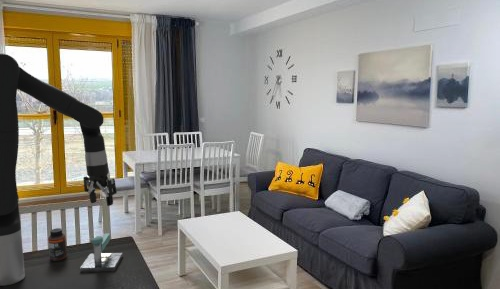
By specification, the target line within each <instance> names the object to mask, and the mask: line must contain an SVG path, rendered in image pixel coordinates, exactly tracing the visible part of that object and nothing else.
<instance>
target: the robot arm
mask: <svg viewBox="0 0 500 289" xmlns="http://www.w3.org/2000/svg"><path fill="white" fill-rule="evenodd" d="M18 91H20V92H22V93H24V94H26V95H28V96H30V97H32V98H34V99H35V100H37V101H39V102H40V103H42V104H44V105H45V106H47V107H49V108H50V109H52V110H54V111H56V112H58V113H59V114H61V115H64V116H65V117H69V118H71V119H73V120H74V121H77V122H78V123H79V126H80V127H79V128H80V131H81V134H82V137H83V147H84V148H83V149H84V154H85V155H84V159H85V166H86V168H85V169H86V176H83V177H82V179H83V188H84V192H85V193H88V194H89V201H90V204H95V203H96V202H97V201H98V200H97V193H96V191H97V190H99V191H101V192H102V193H104V194H105V201H106V206H108V207H110V206H112V205H113V204H114V198H113V196H114V195H116V194H117V187H116V180H115V178H114V177H113V178H108V174H109V172H110V171H109V165H108V156H107V152H106V145H105V143H106V142H105V139H104V136H103V134H102V132H101V126H103V124H104V115H103V114H102V112H100V110H97V109H96V108H94V107H92V106H90V105H88V104H86V103H84V102H82V101H80V100H78V99H77V98H75V97H74V96H72V95H71V94H69V93H67V92H66V91H63V90H62V89H60V88H58V87H55V86H54V85H51V84H50V83H47V82H45V81H44V80H41V79H39V78H37V77H35V76H34V75H32V74H31V73H29V72H27V71H26V70H24V69H23V68H22V67H21V66H20V65H19V63H18V62H17V60H16V59H15V58H14V57H13V56H11V55H10V54H7V53H0V286H4V287H5V286H10V285H14V284H16V283H19V282H21V281H22V280H24V278H25V277H26V274H25V273H26V272H25V261H24V259H25V258H24V249H23V237H22V227H21V224H22V223H21V217H20V216H21V215H20V208H19V206H20V204H19V200H20V199H19V198H20V197H19V192H18V185H17V175H16V173H17V164H18V156H19V154H18V153H19V140H20V139H19V136H20V135H19V133H20V132H19V131H20V128H19V113H18V105H17V94H18Z"/></svg>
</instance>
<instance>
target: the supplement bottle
mask: <svg viewBox="0 0 500 289" xmlns="http://www.w3.org/2000/svg"><path fill="white" fill-rule="evenodd" d="M66 239H67V238H66V234H65V233H63V229H62V228H60V227H56V228H53V229H51V230H50V235H49V236H48V239H47V240H48V242H47V243H48V250H49V253H48V254H49V259H50V260H51V261H53V262H57V261H62V260H64V259H66V258H67V256H68V253H67V240H66Z"/></svg>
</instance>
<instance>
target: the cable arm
mask: <svg viewBox="0 0 500 289" xmlns="http://www.w3.org/2000/svg"><path fill="white" fill-rule="evenodd" d="M110 241H111V233H109V232H106V233H103V235H98V236H97V235H96V237H92V238H91V239H90V243H91V245H94V244H100V243H101V252H103V251H104V250H105V248H106V247H107V245H108V243H109V242H110Z"/></svg>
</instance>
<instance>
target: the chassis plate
mask: <svg viewBox="0 0 500 289" xmlns="http://www.w3.org/2000/svg"><path fill="white" fill-rule="evenodd" d="M122 259H123V252H105V253H104V252H102V251H101V243H100V244H93V253H89V255H88V256H87V257H86V259H85V260H84V261H83V263H82V264H81V266H80V267H79V273H90V272H115V271H116V269H117V268H118V265H119V264H120V263H121V260H122Z"/></svg>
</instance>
